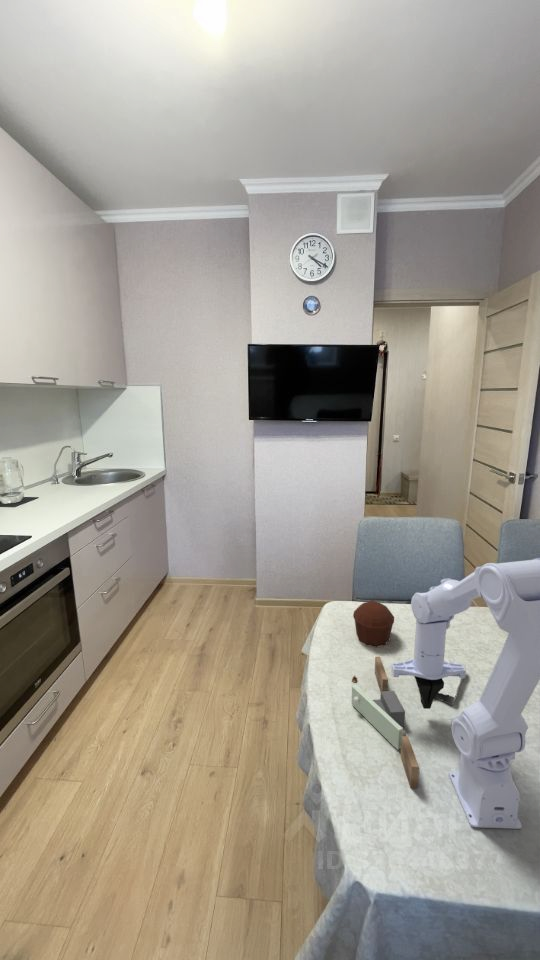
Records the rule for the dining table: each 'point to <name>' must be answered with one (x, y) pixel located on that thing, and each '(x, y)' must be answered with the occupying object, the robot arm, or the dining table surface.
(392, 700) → the grey stepped block
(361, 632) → the muffin
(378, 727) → the door
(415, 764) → the brown wooden plank
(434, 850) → the dining table surface
